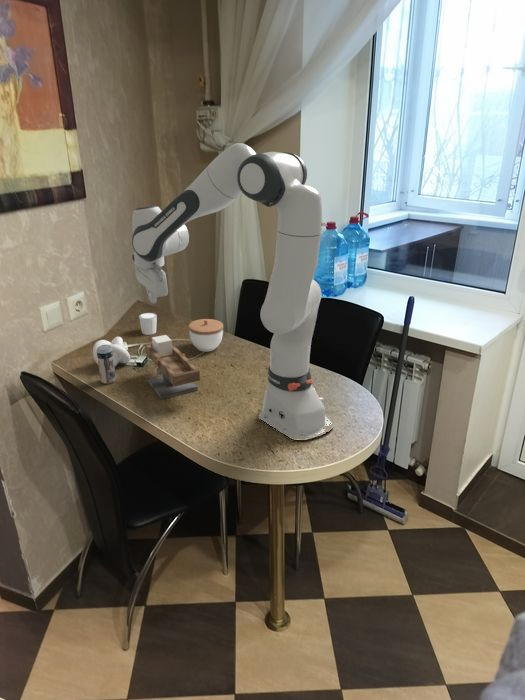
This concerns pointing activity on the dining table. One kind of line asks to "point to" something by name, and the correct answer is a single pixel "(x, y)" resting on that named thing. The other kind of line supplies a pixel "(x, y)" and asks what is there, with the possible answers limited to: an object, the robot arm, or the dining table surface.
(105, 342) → the white knot sculpture
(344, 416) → the dining table surface
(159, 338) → the white block
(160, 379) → the brown wooden tray
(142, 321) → the shot glass
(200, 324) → the lidded bowl
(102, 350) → the beer can
